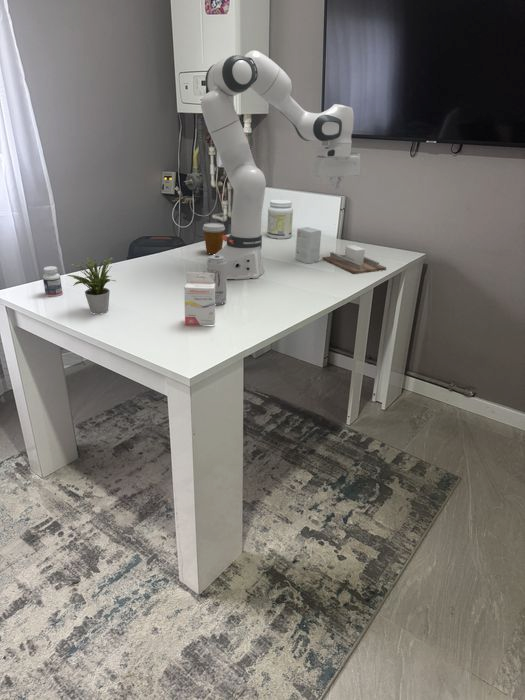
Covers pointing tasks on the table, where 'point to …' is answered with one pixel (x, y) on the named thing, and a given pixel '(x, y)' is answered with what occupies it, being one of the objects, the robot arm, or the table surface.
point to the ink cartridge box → (199, 299)
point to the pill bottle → (52, 282)
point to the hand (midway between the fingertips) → (335, 188)
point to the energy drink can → (218, 276)
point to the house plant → (96, 286)
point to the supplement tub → (280, 219)
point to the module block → (355, 253)
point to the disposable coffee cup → (213, 237)
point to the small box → (308, 245)
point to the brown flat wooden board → (353, 264)
